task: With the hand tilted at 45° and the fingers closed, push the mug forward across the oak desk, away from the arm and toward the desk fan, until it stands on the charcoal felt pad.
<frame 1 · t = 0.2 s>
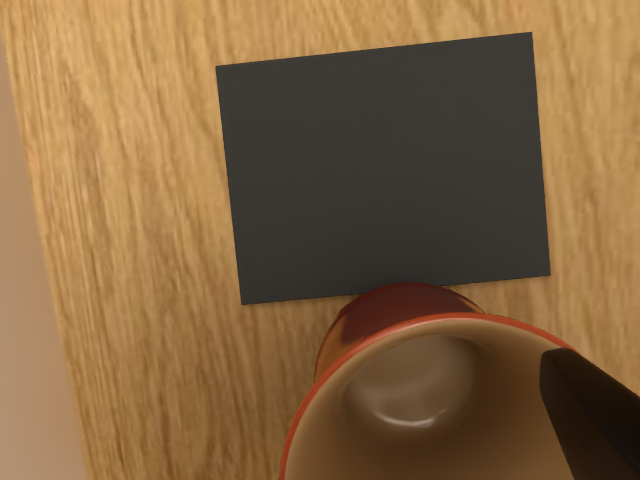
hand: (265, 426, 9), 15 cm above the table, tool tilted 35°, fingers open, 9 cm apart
mug: (404, 396, 24), on the table, touching felt pad
felt pad: (383, 171, 23), on the table
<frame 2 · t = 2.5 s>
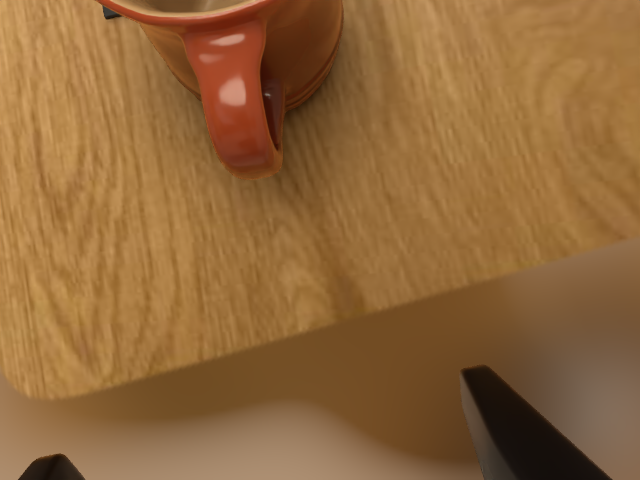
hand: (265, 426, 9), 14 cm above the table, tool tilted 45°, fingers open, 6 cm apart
mug: (265, 83, 24), on the table, touching felt pad
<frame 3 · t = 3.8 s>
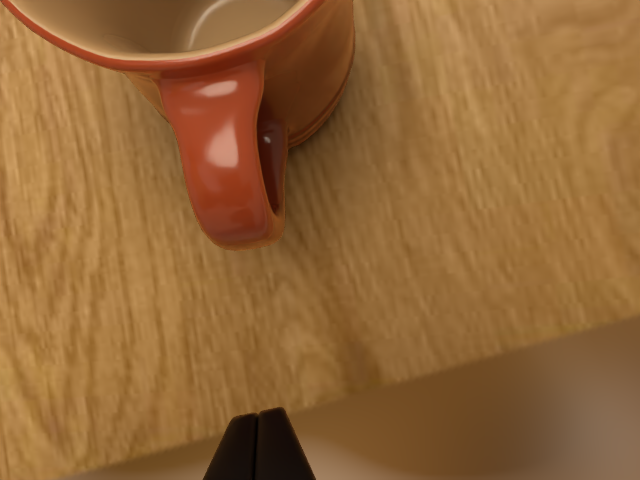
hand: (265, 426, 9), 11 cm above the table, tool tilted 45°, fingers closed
mug: (263, 114, 21), on the table, touching felt pad
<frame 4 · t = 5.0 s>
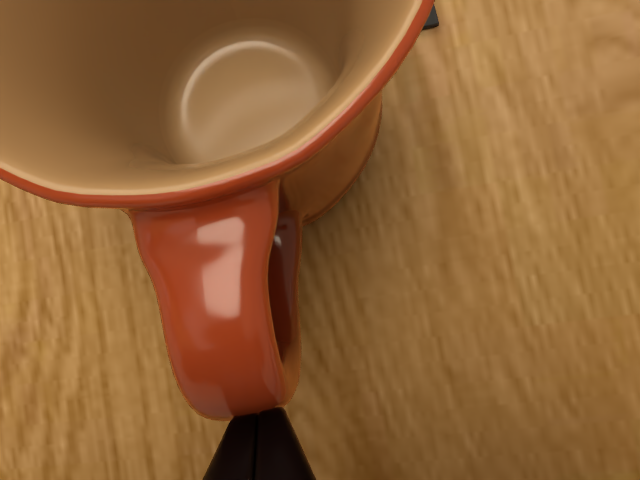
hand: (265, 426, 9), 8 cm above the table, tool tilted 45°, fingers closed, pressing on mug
mug: (270, 180, 18), on the table, touching felt pad, gripper
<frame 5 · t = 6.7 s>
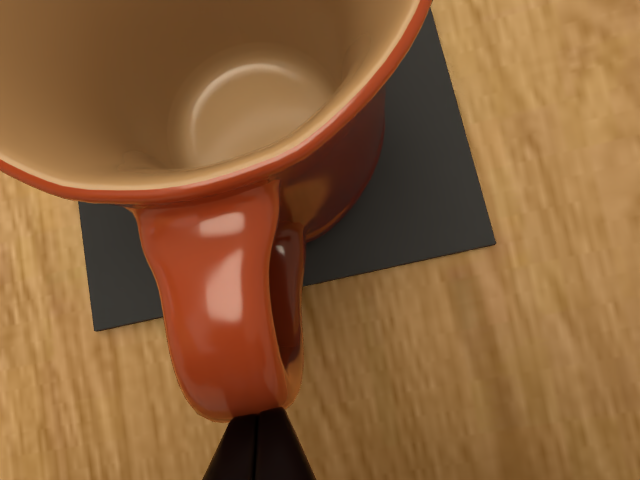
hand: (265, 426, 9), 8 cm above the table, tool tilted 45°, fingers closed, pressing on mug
mug: (275, 199, 18), resting on felt pad, touching gripper
felt pad: (264, 143, 19), on the table
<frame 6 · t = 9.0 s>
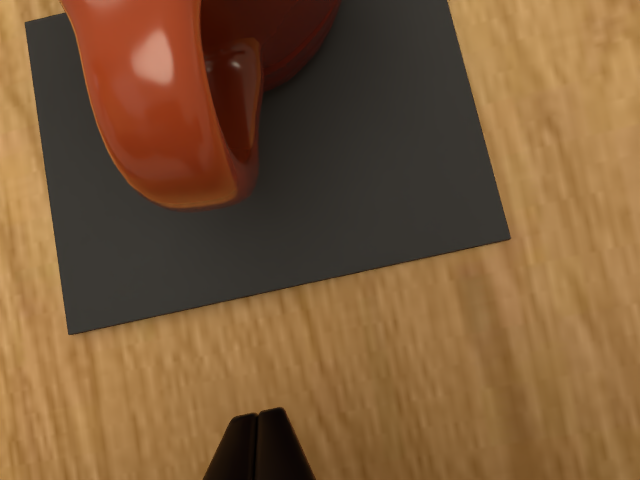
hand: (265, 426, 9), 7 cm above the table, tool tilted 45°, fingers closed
mug: (238, 49, 17), resting on felt pad
felt pad: (254, 126, 17), on the table
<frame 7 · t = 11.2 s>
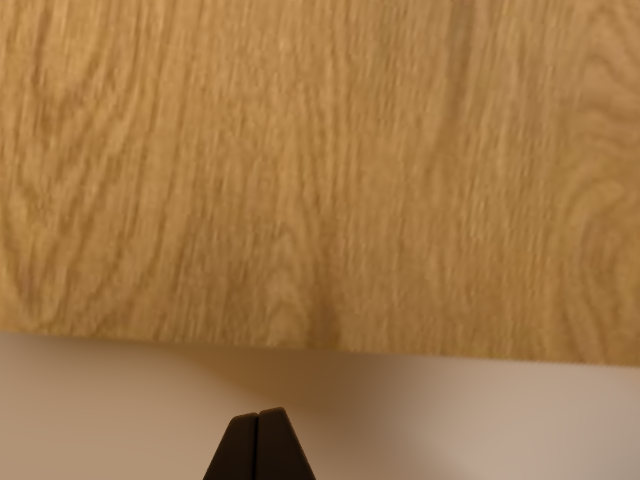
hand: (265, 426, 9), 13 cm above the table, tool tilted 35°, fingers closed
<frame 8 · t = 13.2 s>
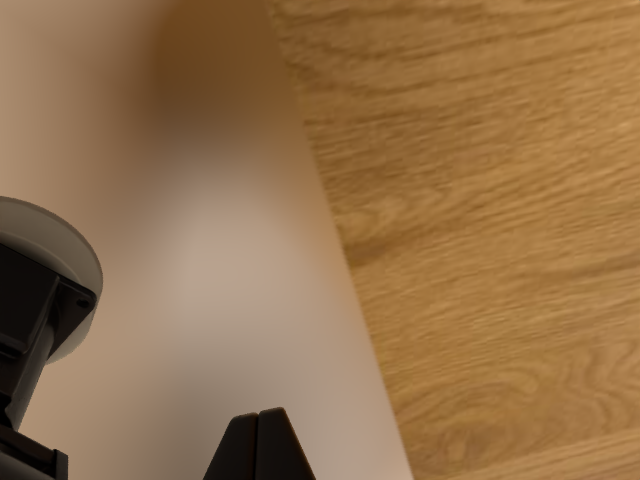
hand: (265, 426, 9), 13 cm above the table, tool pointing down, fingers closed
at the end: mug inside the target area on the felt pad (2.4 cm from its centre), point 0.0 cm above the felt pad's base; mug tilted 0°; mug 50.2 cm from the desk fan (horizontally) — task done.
